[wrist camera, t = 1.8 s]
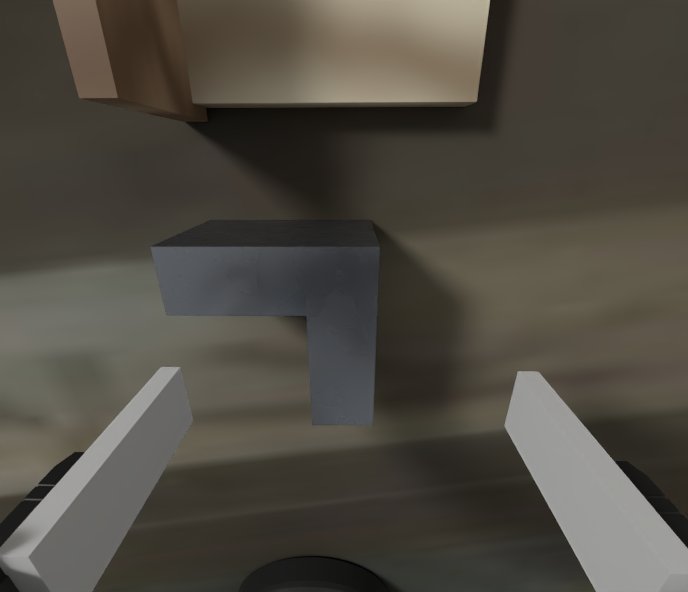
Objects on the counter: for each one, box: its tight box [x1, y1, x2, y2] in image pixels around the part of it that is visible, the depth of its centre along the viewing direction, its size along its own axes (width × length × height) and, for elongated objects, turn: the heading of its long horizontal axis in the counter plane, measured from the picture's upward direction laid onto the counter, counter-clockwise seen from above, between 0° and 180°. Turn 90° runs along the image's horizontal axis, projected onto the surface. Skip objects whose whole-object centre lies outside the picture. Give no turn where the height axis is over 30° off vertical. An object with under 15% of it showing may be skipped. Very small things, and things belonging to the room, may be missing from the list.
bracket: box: [151, 220, 380, 425], centre depth 17 cm, size 9×9×6 cm
